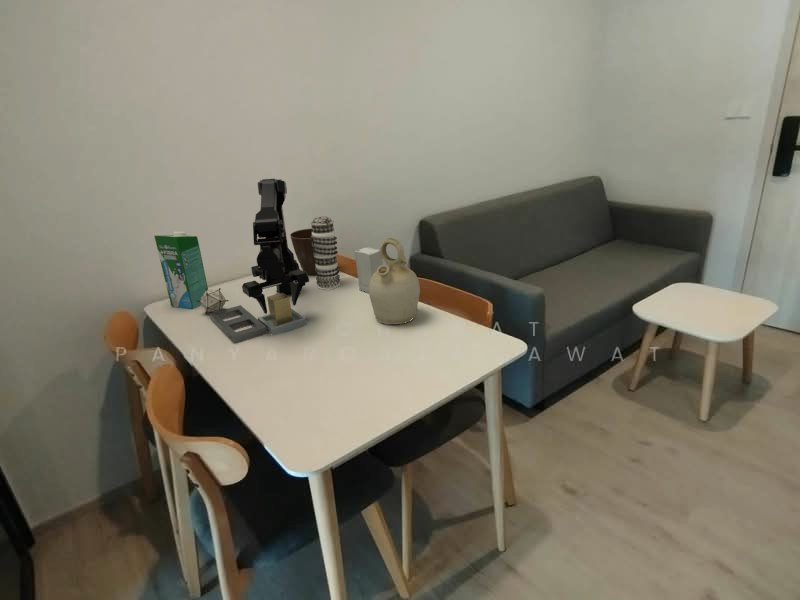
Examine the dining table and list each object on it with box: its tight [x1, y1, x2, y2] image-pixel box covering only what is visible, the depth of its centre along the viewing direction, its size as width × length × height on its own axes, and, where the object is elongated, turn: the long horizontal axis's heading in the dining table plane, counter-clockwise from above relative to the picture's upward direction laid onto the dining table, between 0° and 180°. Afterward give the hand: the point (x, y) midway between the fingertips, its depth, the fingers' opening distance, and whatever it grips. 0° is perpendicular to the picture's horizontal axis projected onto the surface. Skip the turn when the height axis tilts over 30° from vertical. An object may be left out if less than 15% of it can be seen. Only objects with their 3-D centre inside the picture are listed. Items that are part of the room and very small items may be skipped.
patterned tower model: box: [310, 216, 341, 290], centre depth 174 cm, size 9×9×25 cm
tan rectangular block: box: [266, 293, 293, 326], centre depth 147 cm, size 5×5×8 cm
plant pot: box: [289, 228, 317, 276], centre depth 190 cm, size 15×15×16 cm
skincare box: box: [354, 246, 384, 294], centre depth 169 cm, size 8×6×15 cm
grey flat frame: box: [209, 304, 269, 344], centre depth 148 cm, size 10×22×2 cm, turn 37°
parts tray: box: [257, 308, 308, 336], centre depth 148 cm, size 11×11×2 cm
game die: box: [197, 287, 230, 315], centre depth 158 cm, size 9×8×10 cm
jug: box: [368, 237, 421, 325], centre depth 145 cm, size 15×16×25 cm
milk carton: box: [154, 231, 209, 310], centre depth 163 cm, size 9×9×25 cm
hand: (280, 309), depth 147 cm, fingers open, 9 cm apart
